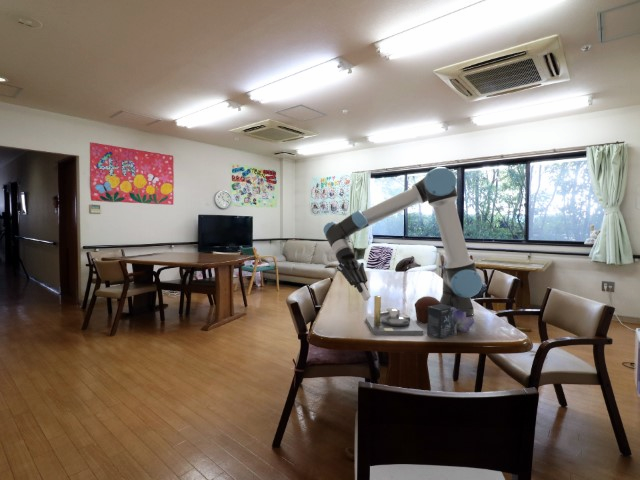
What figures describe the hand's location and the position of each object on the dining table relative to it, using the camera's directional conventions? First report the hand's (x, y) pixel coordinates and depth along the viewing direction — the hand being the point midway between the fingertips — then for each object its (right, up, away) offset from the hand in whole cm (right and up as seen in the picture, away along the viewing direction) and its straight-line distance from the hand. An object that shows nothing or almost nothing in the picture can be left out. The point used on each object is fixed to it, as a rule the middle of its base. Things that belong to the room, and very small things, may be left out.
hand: (367, 298), depth 127 cm
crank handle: (+9, -9, -1) cm, 13 cm away
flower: (+34, -12, -5) cm, 36 cm away
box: (+25, -12, -9) cm, 29 cm away
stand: (+10, -11, -1) cm, 15 cm away
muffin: (+26, -11, +8) cm, 30 cm away
